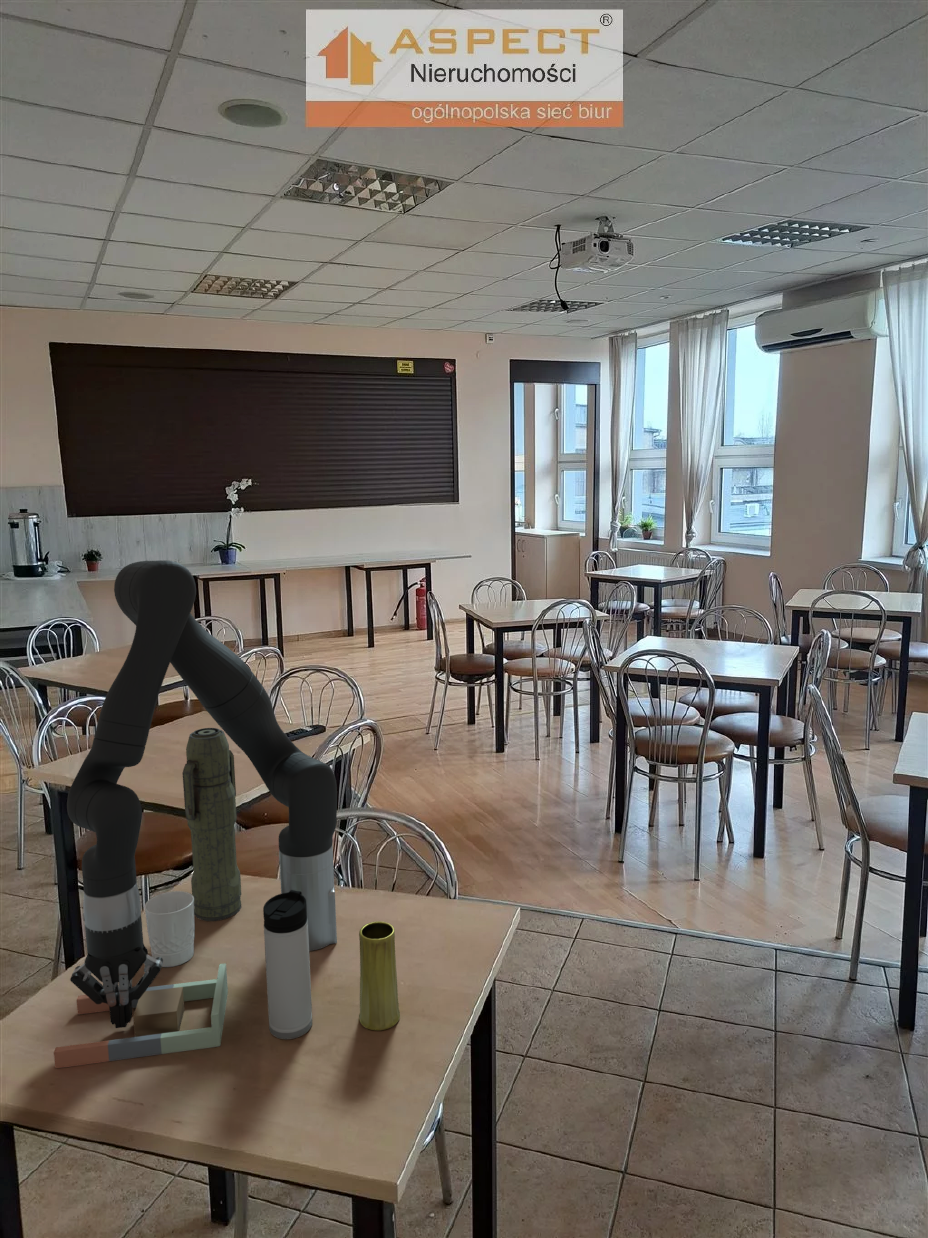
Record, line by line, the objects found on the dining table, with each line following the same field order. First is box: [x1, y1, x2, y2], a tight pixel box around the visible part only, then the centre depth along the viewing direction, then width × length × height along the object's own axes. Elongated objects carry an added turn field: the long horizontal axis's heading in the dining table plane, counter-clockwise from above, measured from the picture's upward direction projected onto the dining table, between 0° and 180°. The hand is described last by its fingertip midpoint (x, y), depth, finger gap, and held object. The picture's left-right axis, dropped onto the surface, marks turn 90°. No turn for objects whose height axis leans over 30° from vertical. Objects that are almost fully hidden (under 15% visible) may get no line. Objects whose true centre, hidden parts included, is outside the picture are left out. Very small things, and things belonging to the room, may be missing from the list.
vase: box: [358, 920, 401, 1032], centre depth 123 cm, size 6×6×14 cm
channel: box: [53, 962, 229, 1069], centre depth 122 cm, size 22×13×5 cm, turn 101°
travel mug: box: [262, 890, 313, 1040], centre depth 121 cm, size 6×7×20 cm
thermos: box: [182, 727, 242, 922], centre depth 154 cm, size 9×12×35 cm
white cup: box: [144, 890, 196, 968], centre depth 140 cm, size 8×8×10 cm
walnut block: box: [132, 987, 185, 1037], centre depth 123 cm, size 6×6×4 cm
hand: (122, 1024), depth 122 cm, fingers closed
